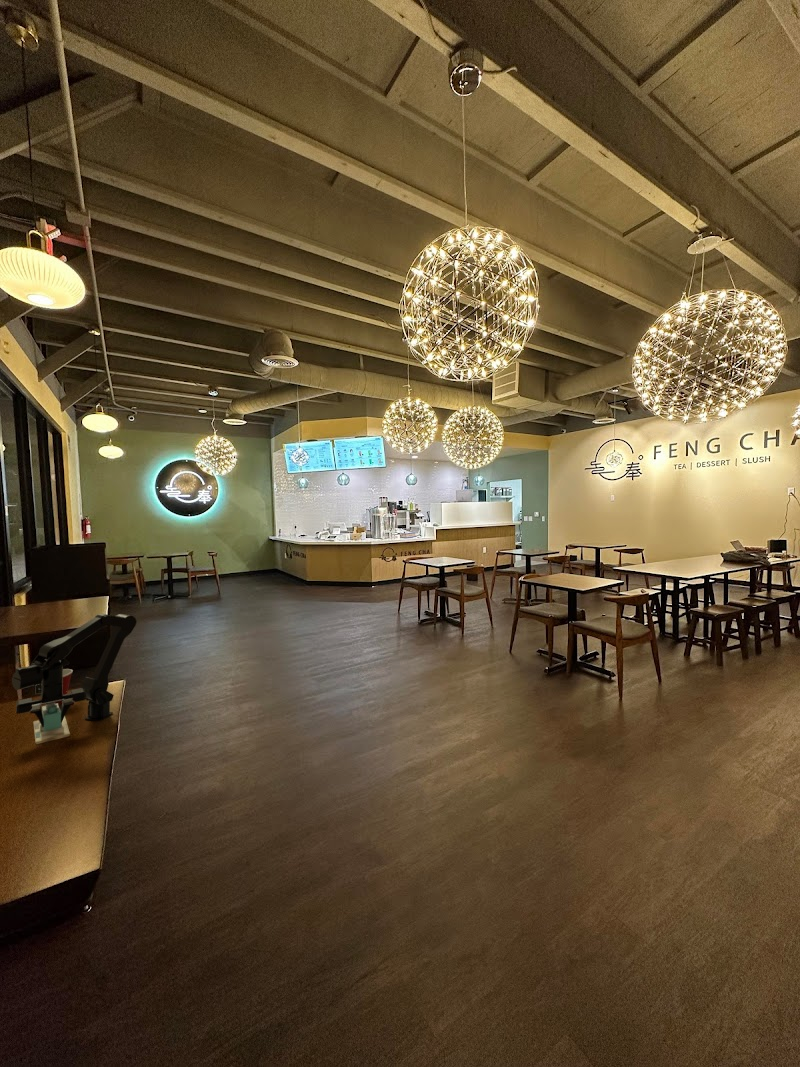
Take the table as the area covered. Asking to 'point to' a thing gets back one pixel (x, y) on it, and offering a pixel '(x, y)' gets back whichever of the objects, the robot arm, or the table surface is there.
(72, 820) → the table surface
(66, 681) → the plastic cup
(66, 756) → the table surface
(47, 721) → the teal plug
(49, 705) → the grey plug
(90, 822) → the table surface
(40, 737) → the backplate with mounted blocks
